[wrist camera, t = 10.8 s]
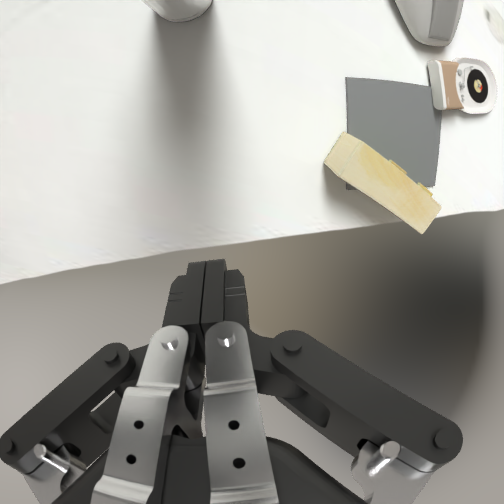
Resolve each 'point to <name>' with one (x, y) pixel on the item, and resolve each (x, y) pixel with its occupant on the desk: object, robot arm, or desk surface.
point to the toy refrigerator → (382, 181)
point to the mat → (396, 124)
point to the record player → (462, 85)
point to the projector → (431, 19)
